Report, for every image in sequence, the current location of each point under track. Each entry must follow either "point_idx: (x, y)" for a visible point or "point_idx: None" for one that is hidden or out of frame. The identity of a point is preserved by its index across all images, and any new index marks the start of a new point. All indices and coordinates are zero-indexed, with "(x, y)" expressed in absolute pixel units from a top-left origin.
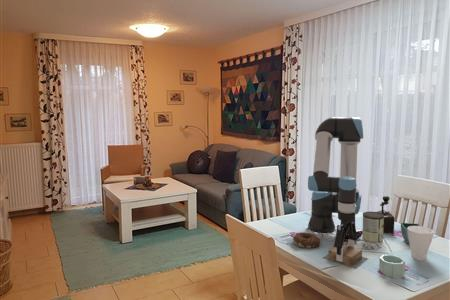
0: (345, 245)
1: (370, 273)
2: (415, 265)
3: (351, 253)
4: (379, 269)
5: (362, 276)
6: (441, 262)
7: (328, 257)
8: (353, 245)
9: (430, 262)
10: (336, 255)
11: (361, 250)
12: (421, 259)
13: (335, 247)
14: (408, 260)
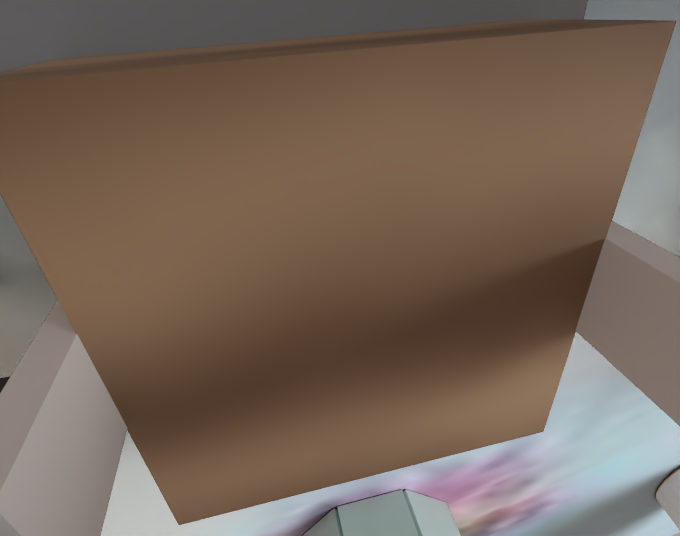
0: (597, 198)
1: (234, 512)
2: (567, 521)
3: (305, 450)
4: (332, 528)
5: (116, 524)
6: (663, 532)
7: (98, 21)
8: (601, 351)
9: (643, 521)
10: (55, 307)
11: (516, 434)
12: (660, 504)
13: (335, 107)
14: (625, 478)
